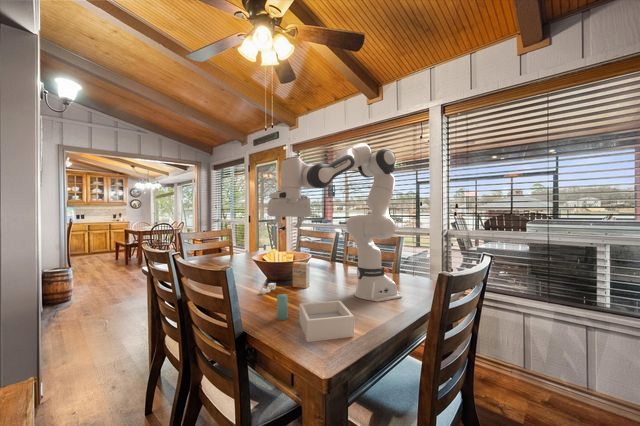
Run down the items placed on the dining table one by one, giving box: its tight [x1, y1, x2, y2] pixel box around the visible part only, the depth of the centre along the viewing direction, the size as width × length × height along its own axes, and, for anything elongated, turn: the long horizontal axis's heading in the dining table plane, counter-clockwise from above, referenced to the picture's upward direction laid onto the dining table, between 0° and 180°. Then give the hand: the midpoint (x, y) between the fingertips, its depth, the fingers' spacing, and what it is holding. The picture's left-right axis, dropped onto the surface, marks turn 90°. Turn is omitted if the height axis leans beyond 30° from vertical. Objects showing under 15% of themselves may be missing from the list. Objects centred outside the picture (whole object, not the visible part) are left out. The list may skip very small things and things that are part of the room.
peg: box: [276, 293, 289, 321], centre depth 112 cm, size 4×4×9 cm
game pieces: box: [259, 282, 277, 295], centre depth 147 cm, size 12×3×3 cm, turn 161°
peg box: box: [299, 300, 355, 343], centre depth 103 cm, size 16×16×7 cm
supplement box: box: [292, 261, 311, 289], centre depth 154 cm, size 8×5×13 cm, turn 70°
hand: (289, 227), depth 123 cm, fingers open, 8 cm apart
